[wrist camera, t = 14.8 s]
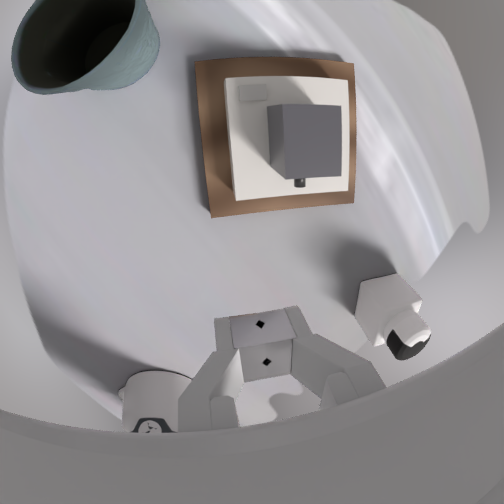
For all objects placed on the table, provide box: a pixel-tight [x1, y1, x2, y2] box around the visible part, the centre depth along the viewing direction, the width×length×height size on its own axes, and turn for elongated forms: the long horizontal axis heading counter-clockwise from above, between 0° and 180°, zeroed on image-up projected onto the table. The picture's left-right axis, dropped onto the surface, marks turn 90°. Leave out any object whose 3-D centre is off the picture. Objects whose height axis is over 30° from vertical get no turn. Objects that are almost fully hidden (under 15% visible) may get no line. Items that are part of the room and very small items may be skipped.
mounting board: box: [195, 57, 356, 218], centre depth 25 cm, size 16×16×2 cm
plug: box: [267, 104, 342, 188], centre depth 21 cm, size 7×4×6 cm, turn 4°
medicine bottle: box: [354, 273, 431, 360], centre depth 34 cm, size 7×7×12 cm
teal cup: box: [11, 0, 160, 95], centre depth 14 cm, size 10×10×12 cm
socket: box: [224, 76, 349, 201], centre depth 23 cm, size 11×11×4 cm
